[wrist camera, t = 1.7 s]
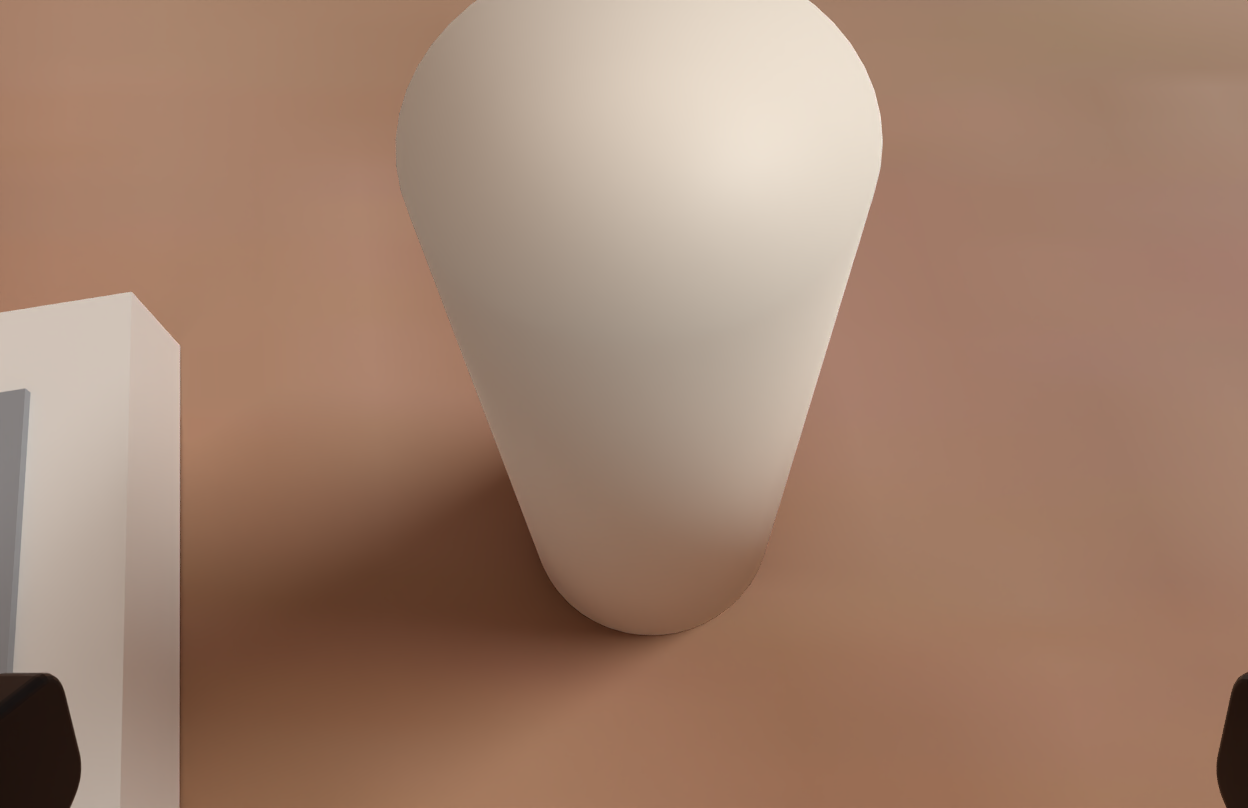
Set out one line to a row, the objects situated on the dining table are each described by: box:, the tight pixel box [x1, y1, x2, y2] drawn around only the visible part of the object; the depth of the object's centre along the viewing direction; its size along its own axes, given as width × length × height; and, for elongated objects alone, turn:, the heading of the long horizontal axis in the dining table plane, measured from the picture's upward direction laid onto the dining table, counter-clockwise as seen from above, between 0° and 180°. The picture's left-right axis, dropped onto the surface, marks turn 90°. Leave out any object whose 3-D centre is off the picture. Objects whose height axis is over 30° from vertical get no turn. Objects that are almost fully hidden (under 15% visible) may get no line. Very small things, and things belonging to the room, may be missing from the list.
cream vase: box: [396, 0, 883, 635], centre depth 17 cm, size 5×5×13 cm
